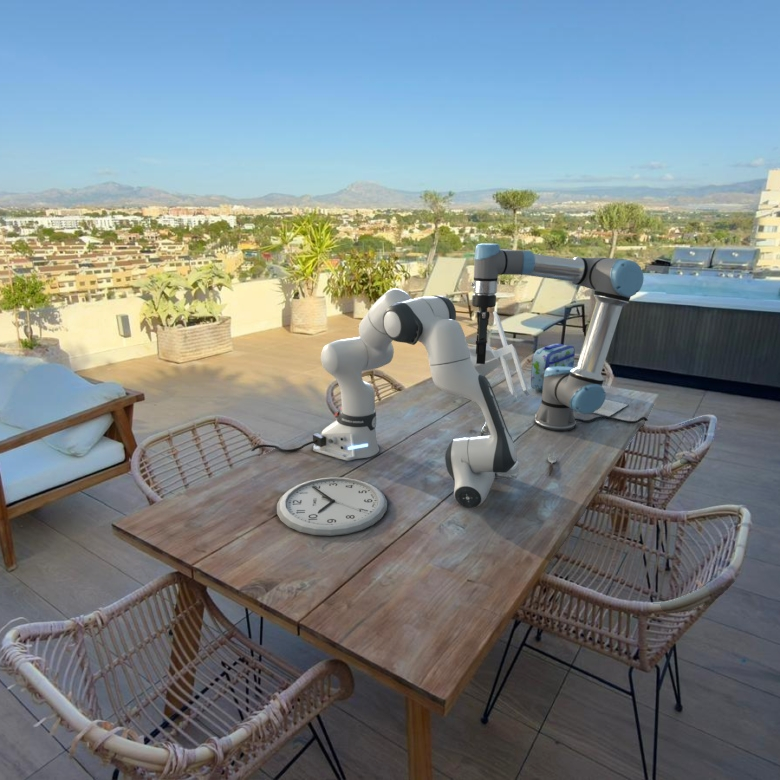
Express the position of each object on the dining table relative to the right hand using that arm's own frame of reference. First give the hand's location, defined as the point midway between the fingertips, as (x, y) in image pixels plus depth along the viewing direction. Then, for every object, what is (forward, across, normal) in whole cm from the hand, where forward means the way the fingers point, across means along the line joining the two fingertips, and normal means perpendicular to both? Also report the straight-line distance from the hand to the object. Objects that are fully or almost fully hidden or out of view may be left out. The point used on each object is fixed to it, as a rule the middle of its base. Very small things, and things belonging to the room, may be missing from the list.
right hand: (480, 358), depth 173 cm
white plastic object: (+32, -65, +3) cm, 72 cm away
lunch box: (+32, -78, +37) cm, 93 cm away
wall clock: (+31, +47, -39) cm, 69 cm away
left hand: (+26, +19, +4) cm, 32 cm away
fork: (+32, +12, +24) cm, 42 cm away
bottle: (+32, +20, +4) cm, 37 cm away
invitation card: (+32, -54, +55) cm, 83 cm away
